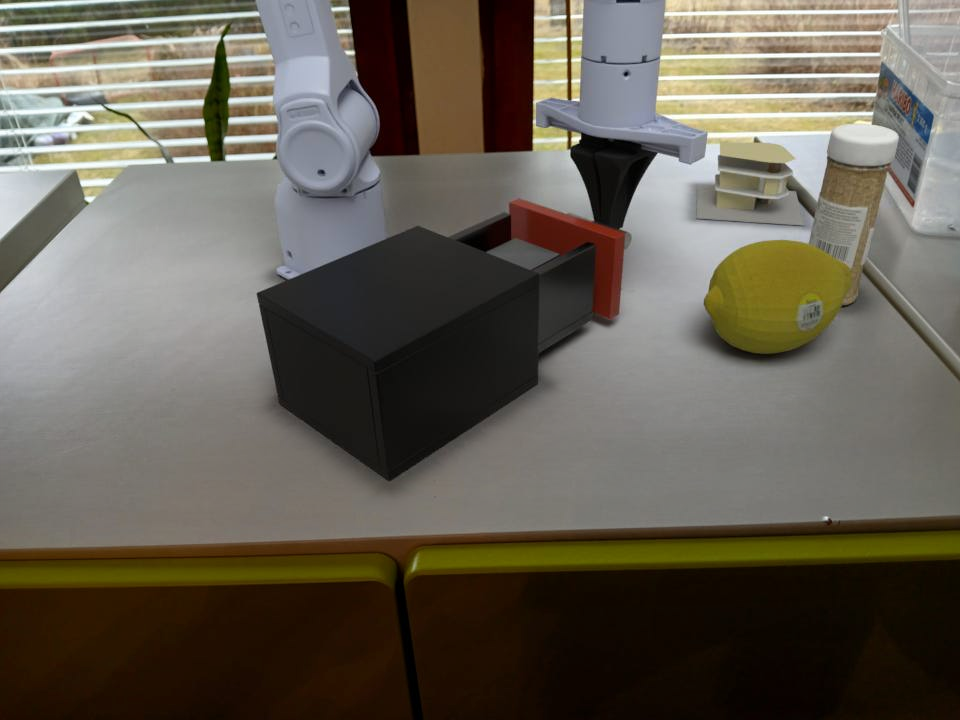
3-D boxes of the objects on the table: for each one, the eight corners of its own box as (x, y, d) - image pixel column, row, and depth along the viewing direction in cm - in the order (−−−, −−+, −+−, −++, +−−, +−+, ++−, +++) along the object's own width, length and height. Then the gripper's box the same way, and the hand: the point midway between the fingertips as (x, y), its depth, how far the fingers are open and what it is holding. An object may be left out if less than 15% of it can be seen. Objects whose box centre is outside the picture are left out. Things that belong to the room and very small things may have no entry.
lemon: (710, 377, 55) (727, 275, 51) (680, 321, 62) (692, 225, 57) (863, 368, 56) (892, 266, 51) (816, 313, 62) (839, 218, 58)
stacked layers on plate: (696, 218, 78) (703, 164, 75) (697, 185, 85) (704, 135, 82) (804, 225, 76) (815, 170, 73) (795, 191, 83) (806, 139, 80)
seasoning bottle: (868, 297, 64) (914, 132, 57) (832, 314, 62) (875, 144, 54) (820, 276, 67) (857, 117, 60) (784, 291, 65) (818, 128, 58)
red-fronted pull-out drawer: (550, 257, 70) (552, 183, 66) (650, 294, 63) (658, 215, 60) (408, 330, 60) (400, 248, 56) (510, 383, 54) (509, 295, 50)
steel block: (476, 309, 60) (475, 256, 58) (515, 288, 63) (515, 237, 60) (520, 329, 57) (520, 274, 55) (558, 306, 60) (560, 253, 58)
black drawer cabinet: (425, 327, 62) (417, 224, 57) (538, 383, 55) (540, 273, 50) (278, 403, 54) (255, 292, 49) (389, 481, 47) (374, 361, 42)
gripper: (739, 59, 56) (713, 236, 63) (576, 34, 64) (570, 193, 72) (684, 79, 52) (663, 267, 59) (518, 49, 60) (518, 216, 68)
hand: (609, 228), depth 65 cm, fingers closed, pressing on red-fronted pull-out drawer
